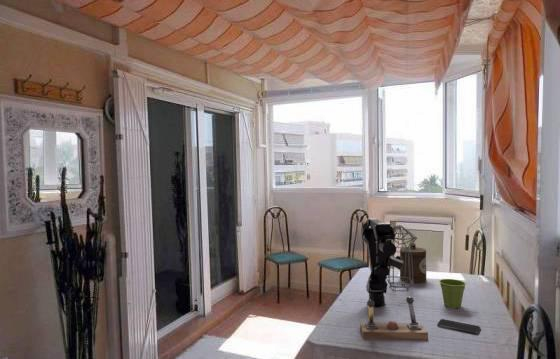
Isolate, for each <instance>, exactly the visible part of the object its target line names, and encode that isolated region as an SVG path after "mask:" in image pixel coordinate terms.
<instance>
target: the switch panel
mask: <svg viewBox="0 0 560 359" xmlns="http://www.w3.org/2000/svg"><path fill="white" fill-rule="evenodd" d="M410 323H411V322H396V321H393V320H391V321H388V322H375V325H369V324H368V322H359V330H360V332H361V335H362V338H363V339H377V340H378V339H381V340H384V339H385V340H389V339H390V340H429V333H428V331H427V329H426V328H424V326H423V324H422V323H421V322H418V325H410Z"/></svg>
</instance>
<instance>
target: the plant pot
mask: <svg viewBox="0 0 560 359" xmlns="http://www.w3.org/2000/svg"><path fill="white" fill-rule="evenodd" d="M438 283H439V284H440V289H441V294H442V299H443V305H444V306H446V307H447V308H452V309H456V308H458V309H460V308H461V307H462V304H463V296H464V291H465V288H466V286H467V283H466V282H465V281H463V280H459V279H453V278H441V279H439V280H438Z"/></svg>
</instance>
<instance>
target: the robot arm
mask: <svg viewBox="0 0 560 359" xmlns="http://www.w3.org/2000/svg"><path fill="white" fill-rule="evenodd" d="M360 235H361V236H362V240H363V242H364V243H365V244H366V245H367V253H368V260H369V261H368V262H369V269H370V273H369V277H368V280H367V282H366V286H365V287H366V288H365V289H366V292H367V293H368V300H373V301H374V306H373V308H378V309H379V308H381V307H384V306H386V305H387V303H386V302H385V295H384V294H387V292H388V285H389V283H388V281H387V279H386V276H387V277H388V276H389V274H390V275H391V267H392V268H393V267H394V268H396V269H397V270H399V271H400V270H401V268H402V265H403V260H401V257H400V255H396V256H394V257H393V255H395V254H396V253H397V252H396V251H397V248H396V247H397V245H395V243H394V242H393V240H394V239H395V238H396V236H395V233H394V230H393V226H392V225H391V222H382V221H381V220H379V219H378V218H376V217H375V218H374V217H373V218H372V217H371V218H367V219H366V221H365V222H364V223H363V224H362V226H361V229H360ZM390 235H391V236H390ZM394 237H395V238H394ZM395 240H396V239H395ZM392 242H393V243H392ZM389 267H390V269H389Z"/></svg>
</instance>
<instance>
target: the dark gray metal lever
mask: <svg viewBox="0 0 560 359" xmlns="http://www.w3.org/2000/svg"><path fill="white" fill-rule="evenodd" d="M366 305H367V307H368V308H367V309H368V321H367V323H368V324H369V325H375V323H376V322H374V320H375V318H374V301H373V300H369V299H368V300H367V301H366Z"/></svg>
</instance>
